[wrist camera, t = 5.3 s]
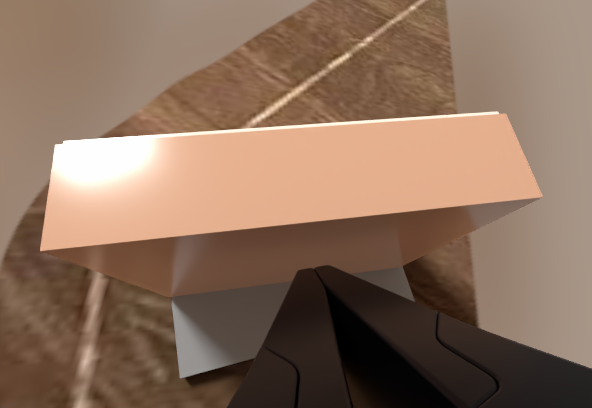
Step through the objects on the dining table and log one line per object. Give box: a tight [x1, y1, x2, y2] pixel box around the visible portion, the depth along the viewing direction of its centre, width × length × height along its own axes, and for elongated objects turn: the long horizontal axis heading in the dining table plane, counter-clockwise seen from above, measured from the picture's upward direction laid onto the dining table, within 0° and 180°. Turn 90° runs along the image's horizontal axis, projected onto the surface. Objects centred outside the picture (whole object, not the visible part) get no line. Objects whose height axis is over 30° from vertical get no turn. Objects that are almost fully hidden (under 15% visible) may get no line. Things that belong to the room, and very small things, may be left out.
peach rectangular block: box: [40, 112, 543, 297], centre depth 12 cm, size 2×11×9 cm, turn 98°
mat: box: [171, 266, 415, 378], centre depth 16 cm, size 9×11×1 cm
